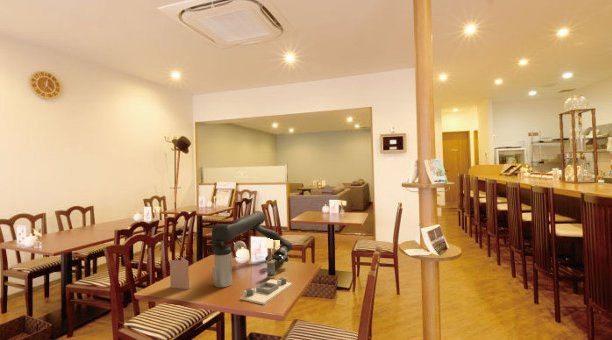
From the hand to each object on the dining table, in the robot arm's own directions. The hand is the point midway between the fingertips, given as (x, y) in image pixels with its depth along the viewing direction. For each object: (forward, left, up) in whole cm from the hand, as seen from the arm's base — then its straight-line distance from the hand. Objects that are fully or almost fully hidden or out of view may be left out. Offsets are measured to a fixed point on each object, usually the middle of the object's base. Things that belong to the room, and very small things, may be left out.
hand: (274, 262), depth 184 cm
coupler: (+3, -9, -6) cm, 11 cm away
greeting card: (-34, -42, -6) cm, 54 cm away
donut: (-45, +21, -6) cm, 50 cm away
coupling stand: (+13, -27, -6) cm, 30 cm away
